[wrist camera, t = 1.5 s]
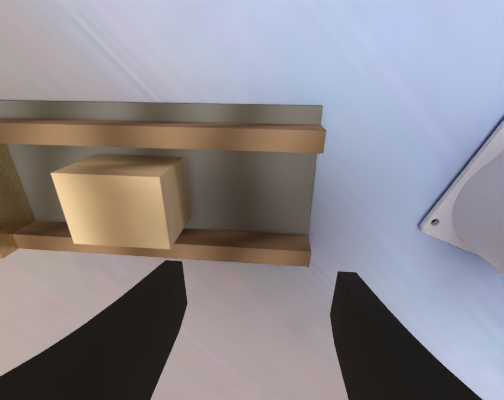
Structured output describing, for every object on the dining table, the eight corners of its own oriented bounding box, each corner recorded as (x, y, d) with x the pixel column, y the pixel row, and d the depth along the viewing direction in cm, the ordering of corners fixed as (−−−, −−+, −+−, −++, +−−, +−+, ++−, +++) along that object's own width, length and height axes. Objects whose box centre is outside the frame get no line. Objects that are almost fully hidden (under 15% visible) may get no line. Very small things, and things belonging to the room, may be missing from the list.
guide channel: (321, 105, 15) (328, 109, 13) (304, 257, 20) (307, 278, 18) (-27, 99, 17) (-71, 102, 15) (31, 240, 22) (4, 258, 20)
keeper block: (184, 156, 17) (159, 177, 13) (190, 216, 19) (170, 249, 15) (97, 153, 18) (50, 172, 14) (111, 213, 19) (73, 243, 16)
